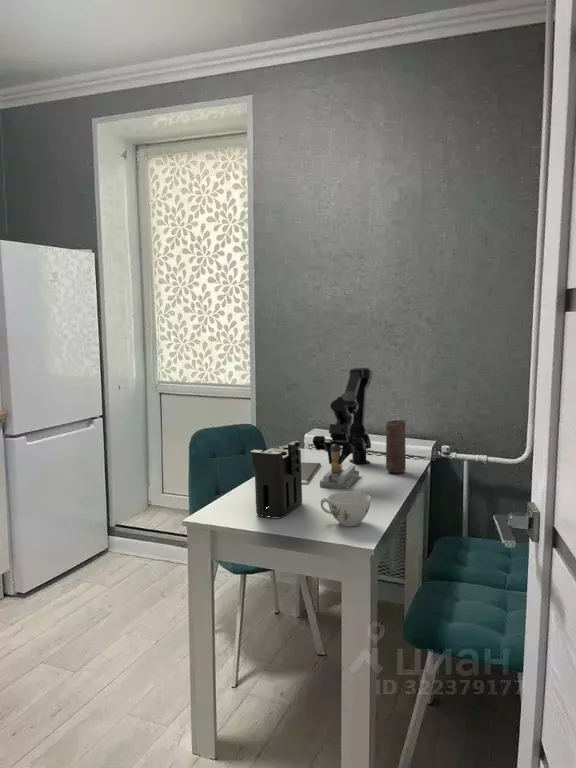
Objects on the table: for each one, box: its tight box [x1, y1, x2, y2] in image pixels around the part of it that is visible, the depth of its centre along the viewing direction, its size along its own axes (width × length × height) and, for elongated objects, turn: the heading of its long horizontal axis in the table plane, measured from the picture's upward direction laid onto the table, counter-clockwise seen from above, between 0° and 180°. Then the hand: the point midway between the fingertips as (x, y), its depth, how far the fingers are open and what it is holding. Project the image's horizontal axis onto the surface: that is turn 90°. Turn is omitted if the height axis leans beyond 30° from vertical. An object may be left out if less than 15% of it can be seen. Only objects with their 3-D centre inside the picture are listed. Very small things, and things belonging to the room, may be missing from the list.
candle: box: [385, 419, 406, 474], centre depth 221 cm, size 8×7×20 cm
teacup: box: [320, 490, 372, 527], centre depth 170 cm, size 15×12×8 cm
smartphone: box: [301, 461, 322, 485], centre depth 225 cm, size 13×27×2 cm, turn 166°
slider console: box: [319, 463, 360, 490], centre depth 212 cm, size 17×10×4 cm, turn 159°
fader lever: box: [330, 444, 342, 481], centre depth 207 cm, size 4×4×13 cm
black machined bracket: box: [250, 440, 303, 518], centre depth 183 cm, size 12×21×22 cm, turn 154°
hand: (334, 463), depth 206 cm, fingers closed on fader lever, 3 cm apart
